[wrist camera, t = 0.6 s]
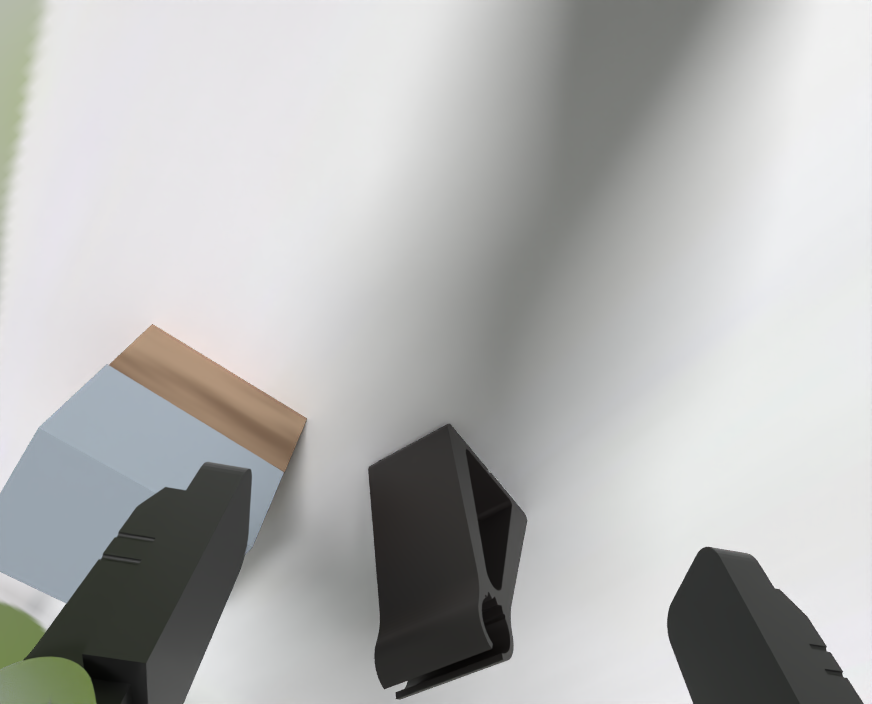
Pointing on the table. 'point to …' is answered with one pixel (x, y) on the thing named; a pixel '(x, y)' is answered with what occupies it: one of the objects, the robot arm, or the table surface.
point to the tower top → (106, 478)
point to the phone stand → (442, 563)
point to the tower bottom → (212, 395)
